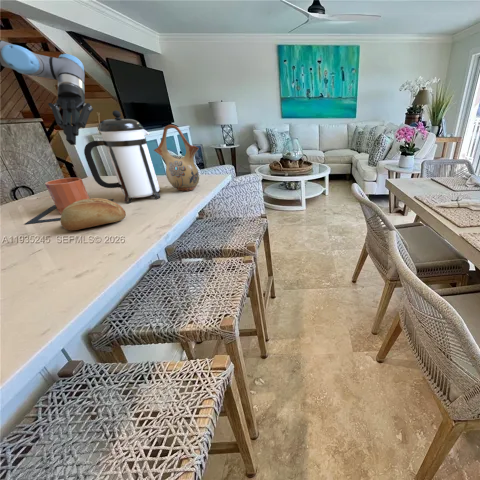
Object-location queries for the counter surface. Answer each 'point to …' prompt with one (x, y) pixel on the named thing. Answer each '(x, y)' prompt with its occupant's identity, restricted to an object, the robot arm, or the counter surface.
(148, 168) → the coffee press
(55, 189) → the terracotta flower pot
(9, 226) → the counter surface
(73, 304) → the counter surface
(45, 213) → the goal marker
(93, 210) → the bread roll
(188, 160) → the ceramic vessel
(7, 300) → the counter surface
